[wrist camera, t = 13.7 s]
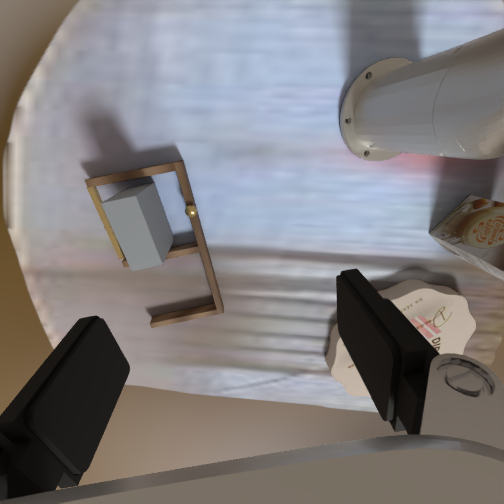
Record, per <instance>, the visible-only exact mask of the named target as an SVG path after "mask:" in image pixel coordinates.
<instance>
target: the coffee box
mask: <svg viewBox="0 0 504 504" xmlns="http://www.w3.org/2000/svg"><path fill="white" fill-rule="evenodd" d="M429 234H430V236H432V237H433V238H434V239H435V240H436V241H437V242H438V243H439V244H440V245H441V246H442V247H443V248H444V249H445V250H446V251H448V252H450V253H452V254H454V255H456V256H458V257H460V258H462V259H463V260H465V261H467V262H469V263H471V264H473V265H475V266H477V267H478V268H480V269H482V270H484V271H486V272H488V273H490V274H492V275H493V276H495V277H497V278H499V279H501V280H503V281H504V203H501V202H497V201H493V200H489V199H485V198H481V197H478V196H474V195H470V196H468V197H467V198H466V199H465V200H464V201H463V202H462V203H461V204H460V205H459V206H458V207H457V208H456V209H455V210H453V211H452V212H451V213H450V214H449V215H448V216H447V217H446V218H445V219H444V220H443V221H442V222H441V223H440V224H438V225H437V226H436V227H435V228H434V229H433V230H432V231H431V232H430V233H429Z"/></svg>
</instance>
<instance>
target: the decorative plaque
mask: <svg viewBox="0 0 504 504" xmlns="http://www.w3.org/2000/svg"><path fill="white" fill-rule="evenodd" d="M377 292H378V293H379V294H380V295H381V296H382V297H383V298H387V299H389V300H391V301H392V302H393V303H394V304H395V306H396V307H397V308H398V309H399V310H400V311H401V312H402V313H403V314H404V315H405V316H406V318H407V319H408V320H409V321H410V322H411V323H412V324H413V325H414V326H415V327H416V328H417V330H418V331H419V332H420V333H421V334H422V335H423V336H424V337H425V338H426V339H427V340H428V342H429V343H430V344H431V345H432V346H433V347H434V348H435V349H436V350H437V351H438V352H439V354H440V355H441V354H445V353H455V354H460V355H462V354H463V351H464V347H465V345H466V343H467V341H468V339H469V338H470V336H471V335H472V333H473V332H474V330H475V328H476V323H475V320H474V319H473V317H472V316H471V315H470V313H469V309H468V304H467V300H466V299H465V298H464V297H463V296H461V295H460V294H458V293H457V292H455V291H454V290H452V289H451V288H449V287H446V286H439V285H431V284H428V283H425V282H423V281H421V280H417V279H409V280H405V281H403V282H400V283H398V284H396V285H394V286H392V287H390V288H388V289H385V290H380V291H377ZM325 360H326V363H327V365H328V367H329V370H330V372H331V374H332V376H333V377H334V378H335V379H336V380H337V381H339V382H340V383H341V384H342V385H343V386H344V388H345V390H346V391H347V393H349V394H350V395H352V396H370V394H369V392H368V390H367V388H366V386H365V384H364V382H363V380H362V378H361V376H360V374H359V372H358V371H357V369H356V367H355V365H354V363H353V361H352V359H351V357H350V355H349V353H348V351H347V349H346V347H345V345H344V343H343V341H342V339H341V337H340V335H339V332H338V325H337V323H336V324H335V325H334V326H333V328H332V330H331V333H330V345H329V349H328V353H327V355H326V358H325ZM370 397H371V396H370Z"/></svg>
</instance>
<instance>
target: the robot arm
mask: <svg viewBox="0 0 504 504" xmlns="http://www.w3.org/2000/svg"><path fill="white" fill-rule="evenodd" d="M365 76H367V78H365ZM346 119H347V122H346V123H345V120H346ZM340 128H341V134H342V137H343V140H344V142H345V144H346V145H347V147H348V148H349V150H350V151H351V152H352V153H353V154H355V155H356V156H358V157H359V158H362V159H365V160H370V161H383V160H388V159H391V158H393V157H396V156H397V155H399V154H401V153H412V154H422V155H433V156H443V157H453V158H463V159H493V158H498V157H502V156H504V29H501V30H498V31H496V32H493V33H491V34H488V35H486V36H483V37H480V38H478V39H475V40H472V41H470V42H467V43H464V44H462V45H459V46H456V47H454V48H451V49H448V50H446V51H443V52H440V53H438V54H435V55H432V56H430V57H427V58H425V59H422V60H419V61H417V62H412V61H410V60H408V59H405V58H400V57H395V58H387V59H384V60H381V61H379V62H377V63H374V64H372V65H371V66H369V67H368V68H366V69H365V70H364V71H363V72H362V73H361V74H360V75H359V76H358V77H357V78H356V79H355V80H354V82H353V83H352V84H351V86H350V88H349V89H348V91H347V93H346V95H345V98H344V101H343V104H342V108H341V113H340ZM364 152H365V154H364ZM336 286H337V325H338V332H339V335H340V337H341V339H342V341H343V343H344V345H345V347H346V349H347V351H348V353H349V355H350V357H351V359H352V361H353V363H354V365H355V367H356V369H357V371H358V372H359V374H360V376H361V378H362V380H363V382H364V384H365V386H366V388H367V390H368V392H369V394H370V396H371V398H372V400H373V402H374V404H375V406H376V408H377V410H378V412H379V413H380V415H381V417H382V419H383V420H384V421H389V422H390V423H391V425H392V427H393V429H394V431H395V432H397V431H403V430H406V431H407V433H408V435H397V436H386V437H376V438H369V439H362V440H355V441H348V442H341V443H334V444H327V445H320V446H314V447H308V448H302V449H296V450H290V451H284V452H278V453H271V454H266V455H260V456H253V457H247V458H241V459H235V460H229V461H223V462H218V463H212V464H205V465H199V466H193V467H187V468H181V469H175V470H170V471H164V472H158V473H152V474H146V475H141V476H134V477H129V478H124V479H117V480H112V481H106V482H100V483H94V484H89V485H83V486H78V484H79V481H80V480H81V477H82V475H83V473H84V472H86V471H87V469H88V468H89V466H90V464H91V462H92V459H93V457H94V454H95V452H96V450H97V447H98V445H99V443H100V440H101V438H102V436H103V434H104V431H105V429H106V426H107V424H108V422H109V419H110V417H111V415H112V412H113V410H114V408H115V405H116V403H117V401H118V398H119V396H120V394H121V391H122V389H123V386H124V384H125V382H126V380H127V377H128V375H129V372H130V366H129V363H128V361H127V360H126V358H125V356H124V354H123V353H122V351H121V349H120V347H119V345H118V344H117V342H116V340H115V338H114V336H113V335H112V333H111V331H110V329H109V328H108V326H107V324H106V322H105V321H104V319H102V318H100V317H98V316H90V317H85V318H81V319H79V320H78V321H77V322H76V323H75V325H74V326H73V327H72V328H71V330H70V331H69V332H68V333H67V334H66V336H65V337H64V338H63V339H62V341H61V342H60V343H59V344H58V346H57V347H56V348H55V349H54V350H53V352H52V353H51V354H50V355H49V357H48V358H47V359H46V360H45V361H44V363H43V364H42V365H41V366H40V368H39V369H38V370H37V371H36V373H35V374H34V375H33V376H32V378H31V379H30V380H29V381H28V382H27V384H26V385H25V386H24V387H23V389H22V390H21V391H20V392H19V394H18V395H17V396H16V397H15V398H14V400H13V401H12V402H11V403H10V405H9V406H8V407H7V408H6V409H5V411H4V412H3V413H2V414H1V416H0V504H504V388H503V385H502V382H501V380H500V379H499V378H498V377H497V375H496V374H495V373H494V372H493V371H492V370H491V369H490V368H488V367H487V366H486V365H484V364H482V363H481V362H479V361H477V360H475V359H473V358H470V357H468V356H465V355H460V354H455V353H445V354H441V355H440V354H439V352H438V351H437V350H436V349H435V348H434V347H433V346H432V345H431V344H430V343H429V342H428V340H427V339H426V338H425V337H424V336H423V335H422V334H421V333H420V332H419V331H418V330H417V328H416V327H415V326H414V325H413V324H412V323H411V322H410V321H409V320H408V319H407V318H406V316H405V315H404V314H403V313H402V312H401V311H400V310H399V309H398V308H397V307H396V306H395V304H394V303H393V302H392V301H391V300H389V299H387V298H383V297H382V296H381V295H380V294H379V293H378V292H377V291H376V289H375V288H374V287H373V286H372V285H371V284H370V283H369V282H368V280H367V279H366V278H365V277H364V276H363V275H362V274H361V273H360V271H359V270H358V269H350V270H345V271H341V274H340V275H338V276H337V277H336ZM57 486H59V487H60V488H66V489H61V490H56V488H57ZM73 486H77V487H73ZM67 487H72V488H67Z"/></svg>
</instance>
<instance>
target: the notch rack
mask: <svg viewBox="0 0 504 504" xmlns="http://www.w3.org/2000/svg"><path fill="white" fill-rule="evenodd" d="M171 171H176V172H177V175H178V179H179V182H180V185H181V189H182V192H183V196H184V199H185V202H186V206H187V207H186V209H185V213H186V215H187V216H189V217H190V220H191V223H192V226H193V230H194V233H195V237H196V240H197V242H194V243H189V244H184V245H180V246H175V247H170V249H169V252H168V254H167V256H166V258H165V259H169V258H173V257H178V256H183V255H188V254H193V253H198V252H200V254H201V257H202V260H203V264H204V267H205V271H206V274H207V278H208V281H209V284H210V288H211V291H212V295H213V298H214V301H215V303H214V304H209V305H205V306H200V307H195V308H190V309H185V310H181V311H176V312H171V313H166V314H162V315H157V316H153V317H152V319H151V322H150V325H151V328H154V327H159V326H164V325H169V324H173V323H178V322H183V321H188V320H192V319H197V318H202V317H207V316H211V315H216V314H221V313H224V306H223V302H222V298H221V295H220V291H219V288H218V284H217V280H216V277H215V273H214V269H213V266H212V262H211V259H210V255H209V251H208V248H207V244H206V240H205V237H204V233H203V230H202V226H201V222H200V219H199V215H198V212H197V208H196V204H195V201H194V197H193V193H192V190H191V186H190V183H189V179H188V175H187V172H186V168H185V164H184V161H183V160H182V161H176V162H171V163H166V164H161V165H156V166H151V167H146V168H140V169H135V170H130V171H125V172H120V173H115V174H110V175H104V176H99V177H94V178H90V179H87V180H85V182H86V184H87V186H88V187H87V189H88V191H89V194H90V196H91V198H92V200H93V202H94V205H95V207H96V209H97V211H98V213H99V216H100V218H101V220H102V222H103V224H104V227H105V229H106V231H107V233H108V235H109V238H110V240H111V242H112V244H113V246H114V249H115V251H116V253H117V255H118V257H119V260H120V259H124V260H123V261H122V263H123V266H124V267H129V264H128V262H127V260H126V257H125V255H124V253H123V251H122V249H121V247H120V244H119V242H118V240H117V238H116V236H115V234H114V231H113V229H112V227H111V225H110V223H109V220H108V218H107V216H106V214H105V212H104V210H103V207H102V205H101V203H102V200H101V198H100V195H99V193H98V191H97V189H96V186H100V185H105V184H110V183H115V182H120V181H125V180H131V179H136V178H141V177H146V176H151V175H156V174H161V173H166V172H171Z"/></svg>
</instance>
